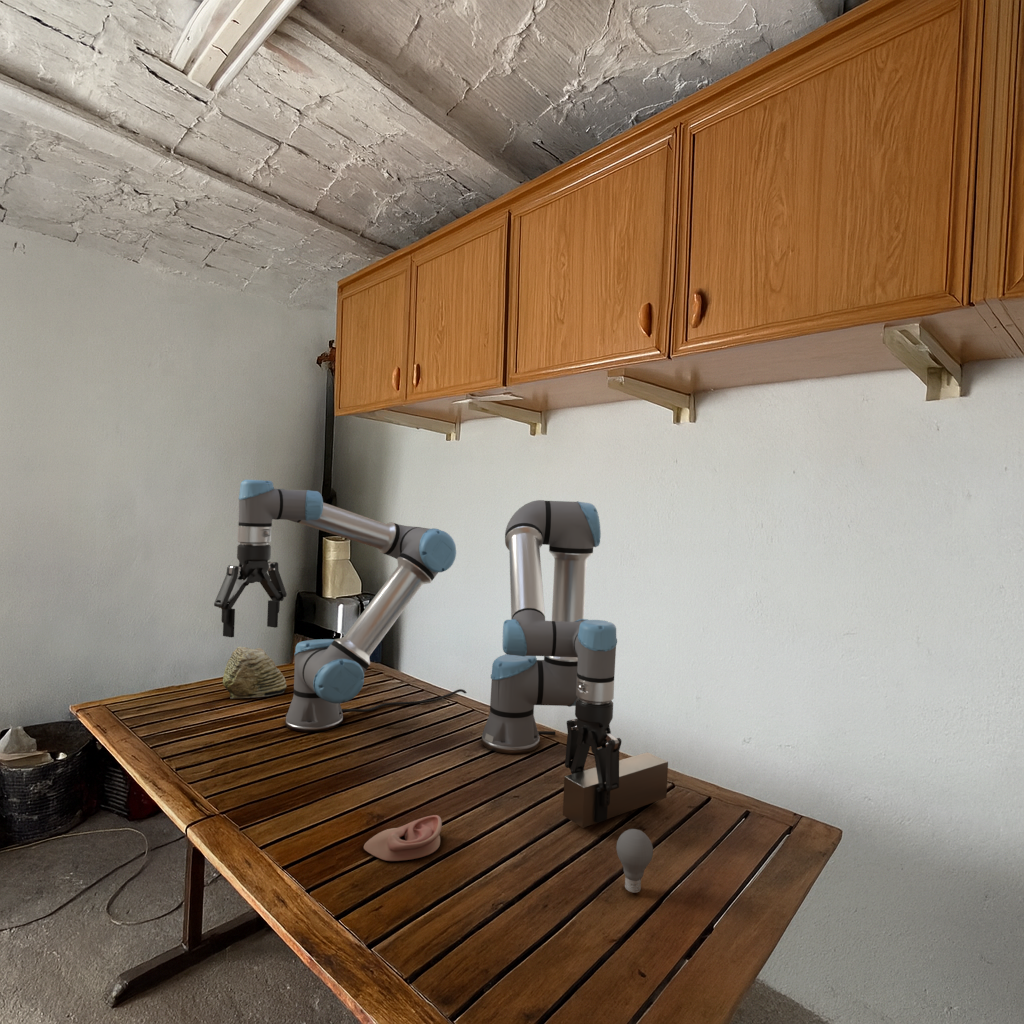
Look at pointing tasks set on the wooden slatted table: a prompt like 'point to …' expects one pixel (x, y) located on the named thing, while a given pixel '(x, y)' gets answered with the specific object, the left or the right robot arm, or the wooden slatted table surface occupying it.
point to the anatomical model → (407, 840)
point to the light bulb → (634, 857)
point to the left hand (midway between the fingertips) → (251, 631)
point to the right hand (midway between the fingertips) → (589, 813)
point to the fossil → (252, 674)
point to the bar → (636, 789)
